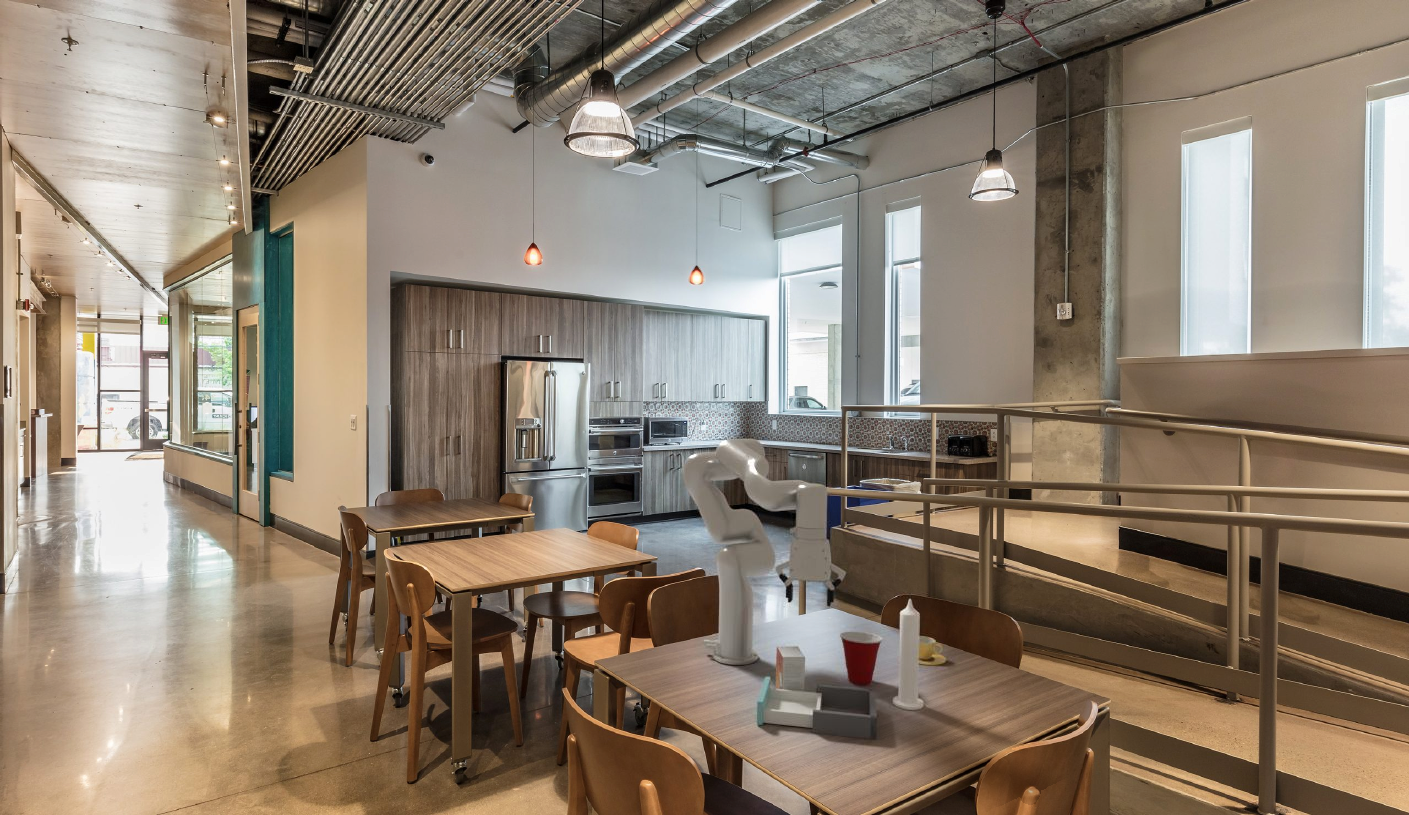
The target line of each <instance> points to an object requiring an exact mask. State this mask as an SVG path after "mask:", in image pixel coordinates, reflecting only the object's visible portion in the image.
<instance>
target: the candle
mask: <svg viewBox="0 0 1409 815" xmlns="http://www.w3.org/2000/svg"><path fill="white" fill-rule="evenodd" d="M920 614H921V613H920V612H918V610H916V609H915V608H914V605H913V601H912V599H911V598H909V599H908V602H907V605H906V607H905V608H903V609H902V610H900V612H899V648H898V649H899V650H898V652H899V653H898V695H895V696H893V698H892V704H893V705H894V706H896V707H897V708H899V709H903V710H908V711H909V710H910V711H918V710H921V709H922V708H924V701H923V700H922V699H921V698H919V674H920V673H919V672H920V670H919V667H920V666H919V665H920V664H919V661H920V659H919V636H920V627H921V626H920V624H921V623H920V622H921V621H920V619H921V615H920Z"/></svg>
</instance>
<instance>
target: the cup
mask: <svg viewBox="0 0 1409 815" xmlns="http://www.w3.org/2000/svg"><path fill="white" fill-rule="evenodd" d="M936 642H937V641H936V640H935V638H933V637H929V636H924V635H919V665H924V666H936V665H942V664H944V663H946V662H947V658H946V657H945V656H943V655H942V654H941V653H942V651H943V645H941V644H940V643H936ZM935 647H939V650H938V651H935V649H936V648H935ZM931 658H933V659H934V660H932V661H927V660H930V659H931Z"/></svg>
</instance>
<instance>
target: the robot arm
mask: <svg viewBox="0 0 1409 815" xmlns="http://www.w3.org/2000/svg"><path fill="white" fill-rule="evenodd" d="M765 451H766V450H765V448H764V446H763V445H762V443H761V442H760V441H758V440H757V439H755V438H728V439H724V440H723V441H721V442H720V443H719V444H718V445H717V447H716V450H715V451H705V452H697V453H695V454H692V455H690V456H688V457H687V459H686V460H685V462H684V465H683V475H682V476H683V481H684V485H685V488H686V490H687V491H688V494H689V495H690V497H691V498H692V500H693V501H694V503H695V505H696V508H698V512H699V514H700V516H701V518H702V521H703V523H704V526H705V527H706V530H707V532H708V535H709V536H710V538H711V540H712V541H713V542H714V543H715V544H717V545H726V546H723V547H722V548H721V549H720V550H719V551H718V552H717V556H716V558H715V559H716V561H715V562H716V564H715V565H716V569H717V576H718V584H719V585H718V586H719V587H718V588H719V589H718V591H719V594H718V597H719V599H718V600H719V601H718V602H719V605H718V608H719V609H718V639H714V640H711V639H703V641H702V642H703V643H702V645H703V647H705V649H706V650H713V651H712V658H713V659H714V660H715V661H716V662H719V663H721V664H724V665H729V666H730V665H732V666H733V665H734V666H743V665H745V666H746V665H749V664H753V663H755V662H756V661H757V660H758V659H759V655H758V654H759V653H758V652H757V651H756V650H755V649H753V645H754V644H753V640H754V637H753V636H754V635H753V634H754V592H753V589H752V586H751V585H750V583H749V580H748V578H751V577H757V576H758V577H759V576H764V575H767V574H770V573H771V572H772V571H773V570H774V568H775V571H776V573H777V575H778V577H779V578H778V579H780V580H781V581H782V582H783V584H784V586H785V599H787V603H791V602H793V599H794V585H793V582H794V581H798V582H799V581H801V582H809V583H810V582H812V583H813V582H814V583H824V584H825V585H826V586H827V587H828V588H827V590H826V592H827V595H826V598H827V599H826V606H827V607H831V604H832V603H834V601H835V589H836V588H837V587H838V586H840V584H842V581H843V580H844V578H845V576H846V574H847V571H845V570H843V569H842V568H840V567H839V566H836V565H835V564H834V563H833V562H832V554H831V552H832V551H831V545H830V540H829V539H827V524H828V523H827V520H828V519H827V518H828V511H827V510H828V488H827V487H826V485H824V484H821V483H813V482H811V483H810V482H807V481H805V480H800V479H794V480H793V479H792V480H790V479H787V480H784V479H783V480H771V479H768V478H767V476H768V474H769V471H770V464H769V461H768V459H767V458H766V457H765V456H766V452H765ZM738 478H739V479H740V480H741V481H742V482H743V485H744V489H745V492H746V494H747V496H748V498H749V499H751V500H752V502H754V503H756V504H757V505H759V506H760V507H761V508H763V509H765V510H767V511H770V512H780V511H792V510H795V526H794V527H790V529H789V534H792V535H794V536H795V537H793V538H792V539H791V544H790V549H789V551H790V552H789V558H788V559H789V560H787V561H785V562H782V563H781V564H778V565H776V554H775V551H774V548H773V546H772V544H771V542H770V539H769V537H768V535H767V533H766V530H765V529H764V526H763V524H762V522H761V520H760V519H759V517H758V515H757V514H756V513H755V512H754V511H753V510H750V509H746V508H739V509H733V508H732V507H731V506H730V505H729V503H728V500H727V498H726V497H725V495H724V493H723V492H722V491H721V490H720V488H718V487H717V486H716V485H715V484H714V483H712V481H716V482H717V481H731V480H736V479H738ZM786 568H788V576H787V575H786V574H785V573H784V571H783V570H784V569H786ZM832 572H834V573H836V574H837V575H838V577H837V578H836V579H835V580H834V581H833V579H832V578H831V577H832Z"/></svg>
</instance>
